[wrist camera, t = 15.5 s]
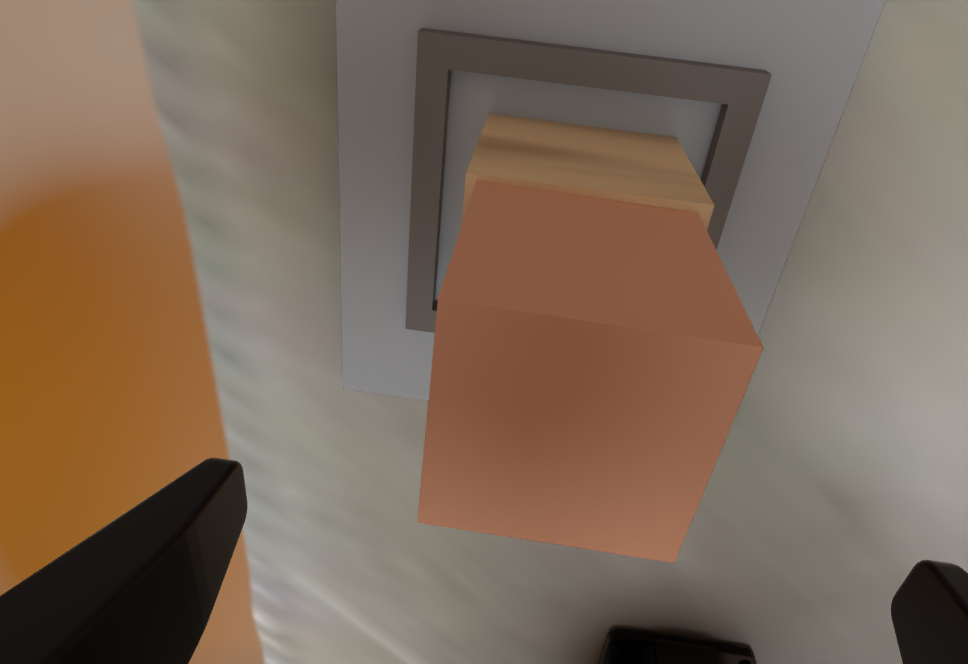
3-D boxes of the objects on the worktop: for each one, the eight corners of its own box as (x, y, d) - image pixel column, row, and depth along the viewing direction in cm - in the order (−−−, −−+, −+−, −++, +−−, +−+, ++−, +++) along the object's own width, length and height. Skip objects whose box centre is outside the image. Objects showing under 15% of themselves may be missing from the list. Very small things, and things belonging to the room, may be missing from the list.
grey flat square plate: (712, 426, 23) (721, 453, 22) (349, 375, 24) (337, 399, 22) (896, -71, 15) (925, -71, 14) (342, -135, 16) (325, -140, 14)
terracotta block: (642, 390, 16) (674, 563, 11) (455, 361, 16) (417, 522, 11) (698, 212, 13) (763, 347, 9) (476, 179, 13) (437, 298, 9)
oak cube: (634, 301, 20) (655, 402, 16) (471, 279, 20) (448, 373, 16) (676, 136, 17) (714, 205, 13) (488, 113, 17) (465, 173, 13)
